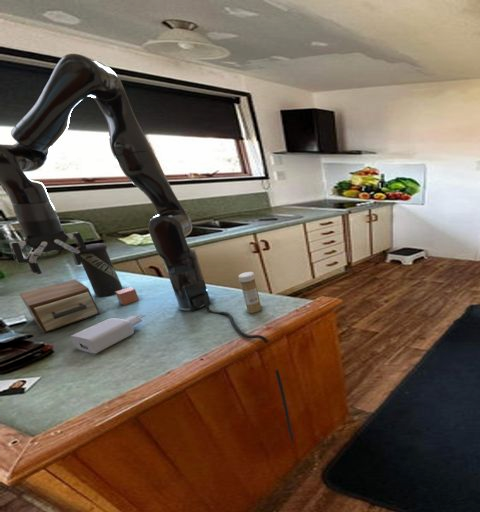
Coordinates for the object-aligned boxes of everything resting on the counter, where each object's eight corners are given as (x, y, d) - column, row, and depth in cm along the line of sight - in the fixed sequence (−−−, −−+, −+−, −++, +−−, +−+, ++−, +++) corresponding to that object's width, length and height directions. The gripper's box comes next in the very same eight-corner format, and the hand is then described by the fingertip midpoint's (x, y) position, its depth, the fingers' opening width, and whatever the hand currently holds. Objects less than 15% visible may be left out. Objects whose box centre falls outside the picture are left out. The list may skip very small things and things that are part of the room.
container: (105, 297, 105) (84, 249, 98) (88, 296, 107) (66, 248, 100) (129, 287, 113) (111, 242, 106) (112, 286, 115) (93, 241, 108)
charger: (155, 323, 87) (97, 354, 73) (136, 319, 89) (76, 349, 76) (150, 310, 85) (90, 340, 72) (130, 307, 88) (69, 334, 74)
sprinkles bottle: (262, 305, 95) (254, 270, 90) (261, 311, 91) (253, 275, 86) (247, 308, 93) (239, 272, 89) (246, 314, 89) (237, 277, 85)
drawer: (102, 316, 90) (92, 295, 87) (50, 335, 81) (37, 312, 78) (85, 302, 100) (76, 283, 97) (37, 318, 90) (25, 297, 88)
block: (139, 299, 102) (135, 289, 101) (123, 305, 99) (119, 294, 97) (134, 297, 105) (130, 286, 103) (119, 302, 101) (114, 291, 99)
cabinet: (100, 313, 94) (88, 288, 91) (44, 333, 84) (28, 305, 80) (86, 302, 102) (75, 279, 98) (33, 319, 92) (19, 293, 88)
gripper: (3, 223, 72) (29, 279, 77) (77, 214, 84) (95, 263, 90) (-7, 221, 75) (19, 274, 80) (67, 212, 87) (85, 259, 93)
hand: (59, 268), depth 85 cm, fingers open, 8 cm apart
